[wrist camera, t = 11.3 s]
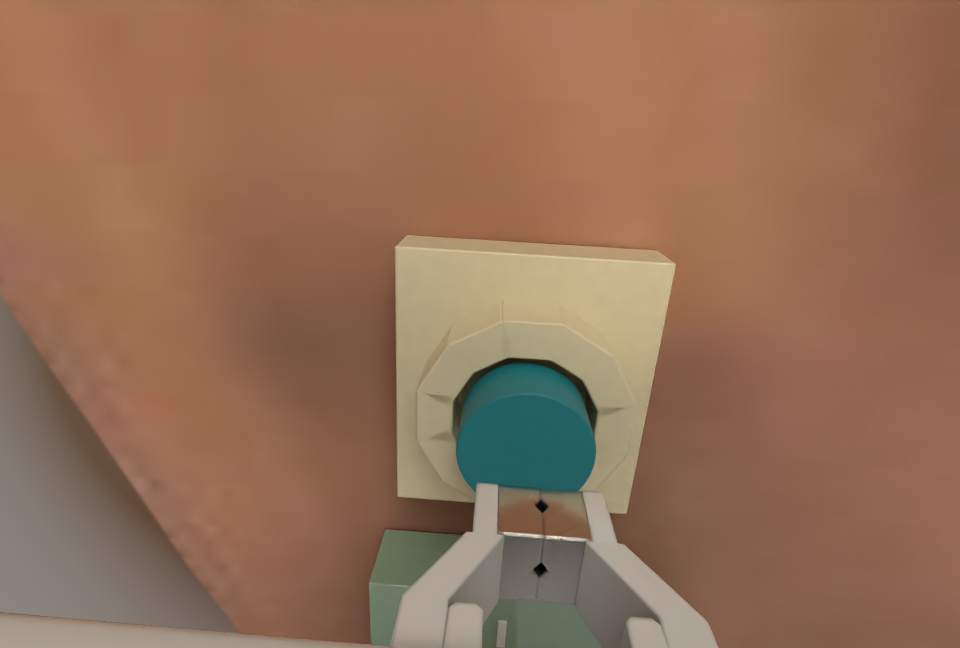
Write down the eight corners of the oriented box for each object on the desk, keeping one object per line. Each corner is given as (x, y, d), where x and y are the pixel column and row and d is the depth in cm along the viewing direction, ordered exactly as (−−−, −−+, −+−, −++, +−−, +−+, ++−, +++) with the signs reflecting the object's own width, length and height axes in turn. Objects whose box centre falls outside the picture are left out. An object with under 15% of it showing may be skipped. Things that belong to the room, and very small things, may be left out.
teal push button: (577, 472, 17) (587, 516, 15) (459, 464, 17) (453, 506, 15) (593, 366, 15) (605, 398, 13) (464, 357, 15) (458, 388, 13)
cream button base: (616, 481, 21) (640, 555, 17) (406, 466, 21) (385, 536, 17) (658, 250, 17) (700, 280, 14) (406, 234, 18) (379, 260, 14)
